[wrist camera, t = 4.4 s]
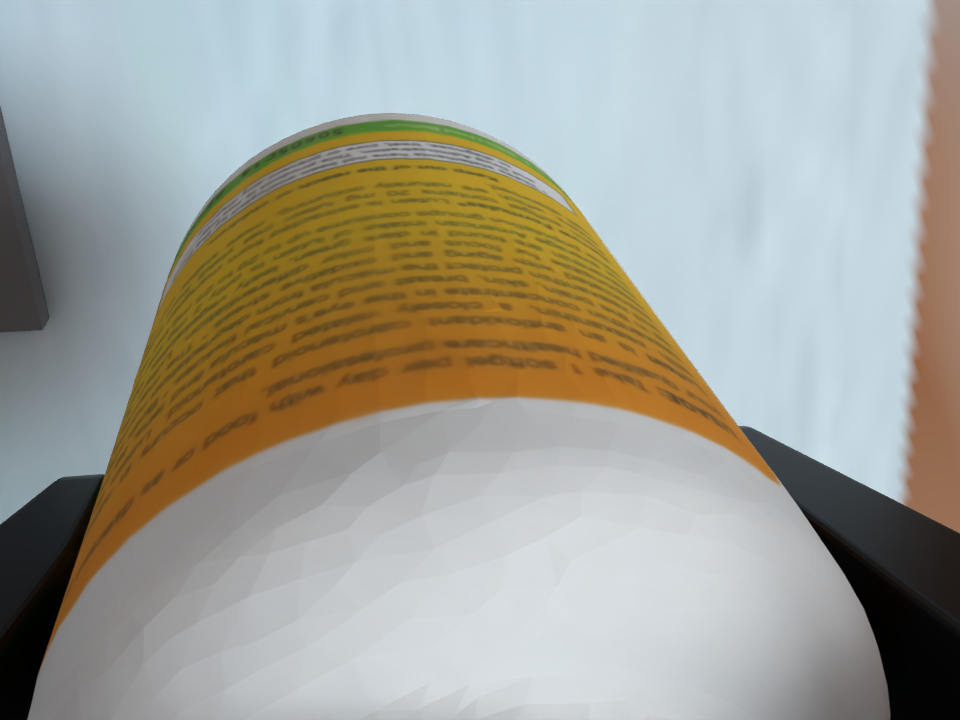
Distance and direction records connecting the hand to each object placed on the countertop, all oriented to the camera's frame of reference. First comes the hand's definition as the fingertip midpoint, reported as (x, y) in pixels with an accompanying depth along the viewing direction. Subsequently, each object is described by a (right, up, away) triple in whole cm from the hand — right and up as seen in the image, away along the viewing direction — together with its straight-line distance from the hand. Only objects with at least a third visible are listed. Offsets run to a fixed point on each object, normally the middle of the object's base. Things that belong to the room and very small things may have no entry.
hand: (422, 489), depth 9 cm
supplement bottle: (-1, +2, +3) cm, 4 cm away
